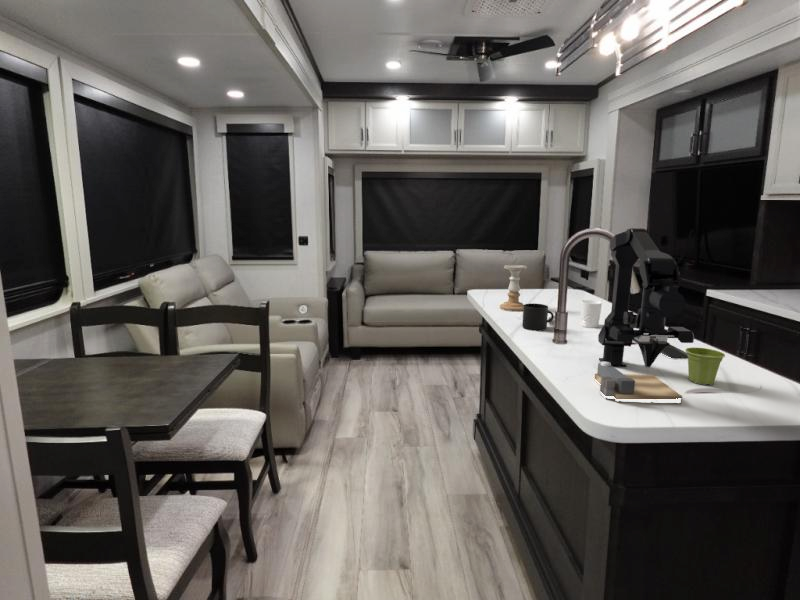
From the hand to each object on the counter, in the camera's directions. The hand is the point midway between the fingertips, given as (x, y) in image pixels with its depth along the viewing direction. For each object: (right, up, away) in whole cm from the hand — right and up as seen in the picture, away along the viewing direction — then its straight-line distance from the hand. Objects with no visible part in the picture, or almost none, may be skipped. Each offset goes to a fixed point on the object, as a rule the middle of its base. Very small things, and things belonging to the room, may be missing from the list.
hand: (647, 366), depth 128 cm
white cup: (+14, +6, +76) cm, 77 cm away
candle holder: (-10, +13, +108) cm, 109 cm away
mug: (-8, +6, +72) cm, 72 cm away
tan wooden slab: (-1, -7, +5) cm, 9 cm away
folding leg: (-7, -5, +4) cm, 9 cm away
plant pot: (+21, -6, +13) cm, 26 cm away
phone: (+27, -1, +41) cm, 49 cm away
